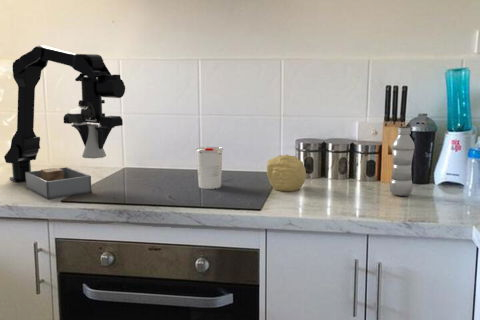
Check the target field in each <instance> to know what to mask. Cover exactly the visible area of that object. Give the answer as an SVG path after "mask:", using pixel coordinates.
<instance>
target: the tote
mask: <svg viewBox="0 0 480 320" xmlns="http://www.w3.org/2000/svg"><path fill="white" fill-rule="evenodd" d="M58 168H59V169H61V170H63V179H62V180H55V181H46V180H44V179H41V170H42V169H40V170H33V171H32V170H31V172H25V176H26V181H25V188H26V189H27V190H30V191H31V192H33V193H35V194H37V195H38V196H40V197H42V198H44V199H46V200H52V199H58V198H65V197H70V196H77V195H82V194H83V195H84V194H89V193H92V190H93V189H92V176H91V175H90V174H87V173H84V172H81V171H80V170H79V171H78V170H76V169H72V168H71V167H67V166H64V167H58Z"/></svg>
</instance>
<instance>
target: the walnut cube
mask: <svg viewBox="0 0 480 320" xmlns="http://www.w3.org/2000/svg"><path fill="white" fill-rule="evenodd" d="M59 168H60V167H52V168H44V169H43V168H42V169H40V170H41V179H44V180H46V181H55V180H62V179H63V170H61V169H59Z"/></svg>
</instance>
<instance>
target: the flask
mask: <svg viewBox="0 0 480 320" xmlns="http://www.w3.org/2000/svg"><path fill="white" fill-rule="evenodd" d="M88 124H89V125H88V127H89V134H88V139H87V142H86V146H84V149H83V152H82V155H81V156H82V158H84V159H92V160H93V159H103V158H105V157H107V154H106V152H105V151H106V150H105V149H104V147H103V148H102V149H99V145H98V132H97V130H96V129H95V127H99V123H88Z"/></svg>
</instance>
